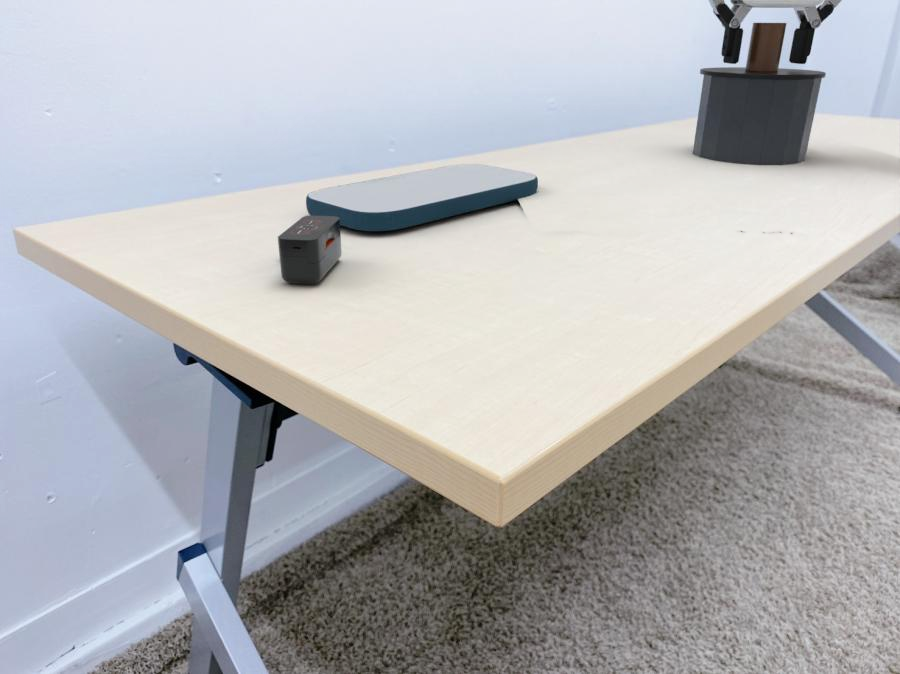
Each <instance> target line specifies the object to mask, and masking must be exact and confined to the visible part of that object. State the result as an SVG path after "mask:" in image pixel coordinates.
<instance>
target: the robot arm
mask: <svg viewBox="0 0 900 674" xmlns="http://www.w3.org/2000/svg"><path fill="white" fill-rule="evenodd" d="M729 1H730V4H731V5H732V7H731V8H730V7H729V6H728V4H726V1H725V0H708V2H709V4H710V7H711V8H712V11H713V14H714V15H715V17H716V18H717V20H719V22H720V23H721V26H722V28H724V31H723V32H724V33H723V38H722V39H723V40H722V45H721V56H722V57H723V60H722V61H723V63H724V64H730V65H736V64H737V63H739V61H740V55H741V48H742V42H743V37H744V29H743V28H741V25H742V22H743V21H744V19H745V18H746V17H747V16H748V14H750V12H751V10H752V9H753V8H755V9H757V8H758V9H759V8H761V9H763V8H764V9H765V8H768V9H769V8H770V9H771V8H774V9H780V8H782V9H785V8H787V9H788V8H789V9H792V8H793V10H794V13H795V15H796V18H797V20H798V23H799V26H798V27H797V28H795V30H794V31H793V35H792V36H793V38H792V42H791V48H790V51H789V52H790V53H789V58H788V59H789V60H788V62H789V63H790V64H797V65H805V64H806V63H807V61H808V57H809V56H810V55H811V52H812V48H813V47H812V46H813V41H814V37H815V31H816V29H818V28H819V27H820V26H821V24H822V23H823V22H824V21H825V20H826V19H828V17H830V16H831V15H832V14H833V12H834V9H835V8H837V6H838V5H839V4H840V3H841V2H842V0H729ZM817 6H818V7H817Z"/></svg>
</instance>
